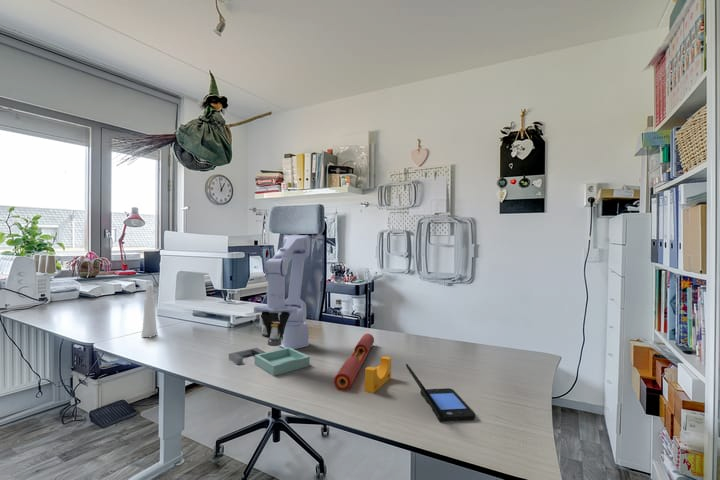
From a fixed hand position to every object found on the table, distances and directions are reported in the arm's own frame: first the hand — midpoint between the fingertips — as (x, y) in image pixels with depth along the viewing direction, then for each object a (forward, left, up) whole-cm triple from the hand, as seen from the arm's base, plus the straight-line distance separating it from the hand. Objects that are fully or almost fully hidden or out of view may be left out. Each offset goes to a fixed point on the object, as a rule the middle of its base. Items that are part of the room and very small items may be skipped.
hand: (275, 334), depth 116 cm
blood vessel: (-21, +18, -10) cm, 30 cm away
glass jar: (0, 0, -3) cm, 3 cm away
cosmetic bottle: (+25, -65, -10) cm, 70 cm away
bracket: (+5, -11, -10) cm, 15 cm away
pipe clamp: (-15, +33, -10) cm, 38 cm away
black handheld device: (-17, +53, -10) cm, 57 cm away
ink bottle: (-16, -33, -10) cm, 38 cm away
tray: (-1, +2, -10) cm, 10 cm away
